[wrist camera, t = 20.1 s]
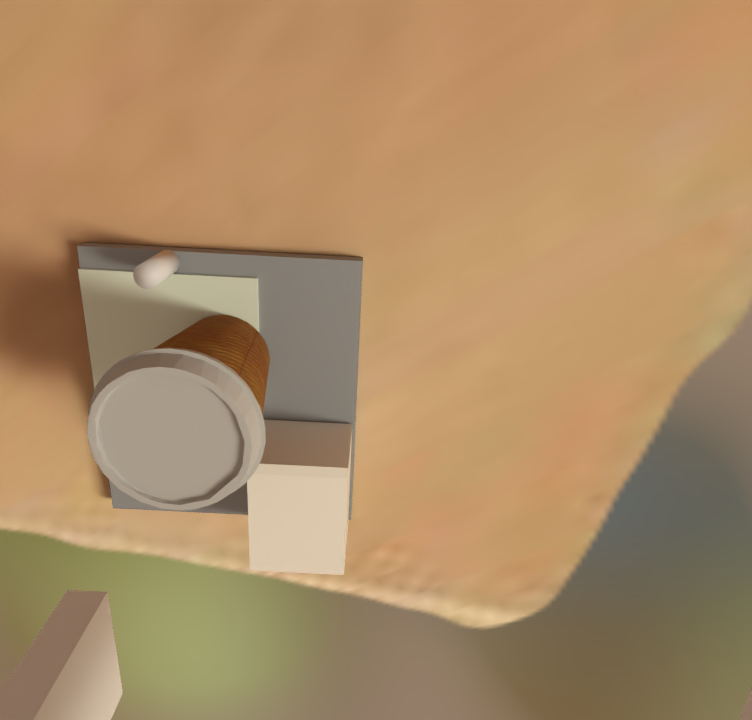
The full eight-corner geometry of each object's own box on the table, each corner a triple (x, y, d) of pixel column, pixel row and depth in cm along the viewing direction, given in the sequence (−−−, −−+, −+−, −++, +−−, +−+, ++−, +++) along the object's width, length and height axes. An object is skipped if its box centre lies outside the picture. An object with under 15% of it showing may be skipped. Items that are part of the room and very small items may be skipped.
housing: (263, 419, 44) (246, 463, 39) (352, 424, 44) (348, 468, 39) (265, 517, 47) (250, 570, 42) (348, 521, 48) (343, 574, 42)
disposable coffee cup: (185, 427, 44) (119, 531, 33) (138, 307, 41) (46, 379, 30) (308, 402, 43) (283, 500, 32) (270, 278, 40) (228, 339, 29)
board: (85, 241, 41) (45, 258, 36) (362, 256, 41) (360, 275, 36) (119, 499, 49) (90, 541, 44) (351, 510, 49) (348, 553, 44)
